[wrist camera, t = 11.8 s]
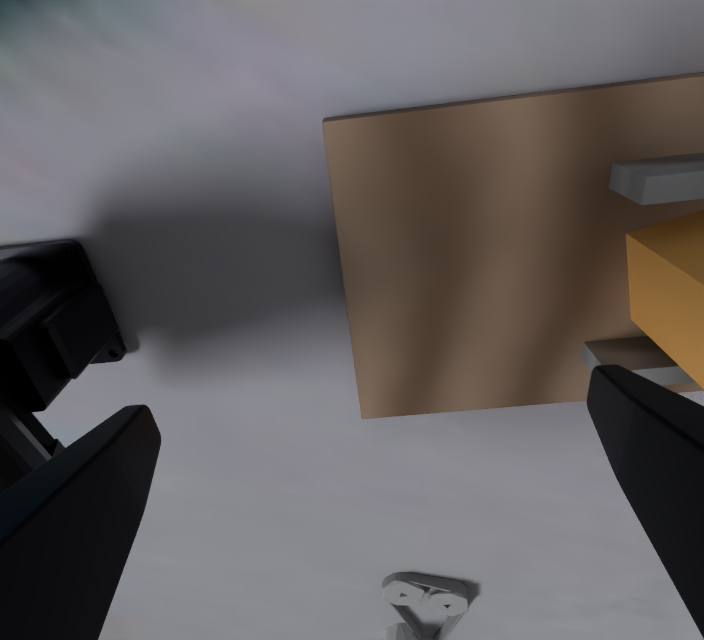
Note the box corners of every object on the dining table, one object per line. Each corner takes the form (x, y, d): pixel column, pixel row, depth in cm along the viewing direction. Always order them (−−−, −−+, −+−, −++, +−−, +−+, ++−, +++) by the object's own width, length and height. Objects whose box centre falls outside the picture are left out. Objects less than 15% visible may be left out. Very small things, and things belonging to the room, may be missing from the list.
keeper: (361, 404, 26) (362, 453, 23) (323, 118, 19) (317, 132, 16) (730, 373, 25) (785, 420, 22) (845, 54, 18) (955, 55, 14)
